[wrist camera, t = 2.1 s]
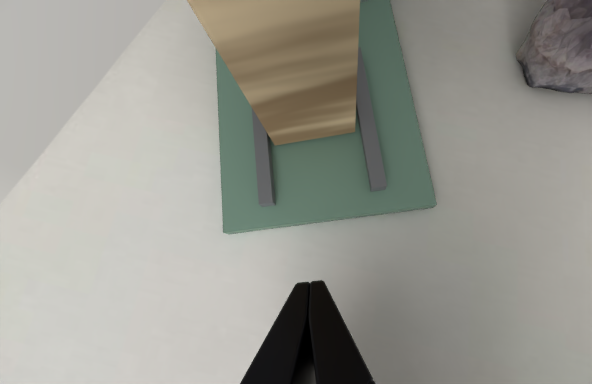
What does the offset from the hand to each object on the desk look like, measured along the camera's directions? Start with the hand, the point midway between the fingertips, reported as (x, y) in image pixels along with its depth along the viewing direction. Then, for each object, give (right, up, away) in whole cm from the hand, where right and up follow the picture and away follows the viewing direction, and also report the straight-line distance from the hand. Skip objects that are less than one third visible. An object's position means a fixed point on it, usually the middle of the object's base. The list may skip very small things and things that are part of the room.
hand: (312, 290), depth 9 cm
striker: (+1, +8, +14) cm, 16 cm away
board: (0, +12, +16) cm, 20 cm away
